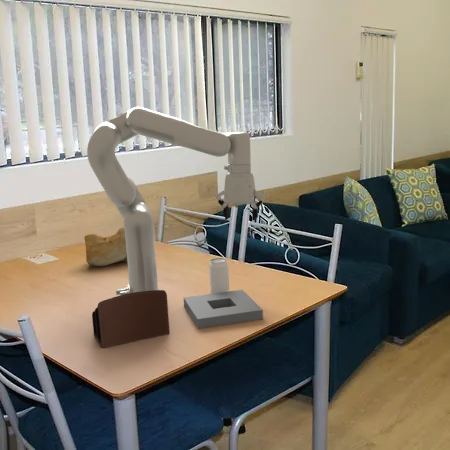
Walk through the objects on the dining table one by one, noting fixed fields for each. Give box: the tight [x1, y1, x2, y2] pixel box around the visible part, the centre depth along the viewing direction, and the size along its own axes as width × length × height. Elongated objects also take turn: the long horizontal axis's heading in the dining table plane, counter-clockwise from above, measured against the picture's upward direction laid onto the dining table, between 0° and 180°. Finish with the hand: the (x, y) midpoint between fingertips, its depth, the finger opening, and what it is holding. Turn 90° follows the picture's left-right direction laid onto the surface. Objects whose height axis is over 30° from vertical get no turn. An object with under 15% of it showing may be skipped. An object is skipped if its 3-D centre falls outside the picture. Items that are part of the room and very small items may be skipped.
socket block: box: [183, 289, 264, 329], centre depth 181 cm, size 20×20×3 cm
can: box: [208, 257, 230, 294], centre depth 197 cm, size 6×6×12 cm
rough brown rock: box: [84, 226, 127, 267], centre depth 244 cm, size 23×17×15 cm
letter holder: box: [91, 289, 170, 349], centre depth 166 cm, size 10×20×14 cm, turn 115°
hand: (240, 219), depth 198 cm, fingers open, 9 cm apart
